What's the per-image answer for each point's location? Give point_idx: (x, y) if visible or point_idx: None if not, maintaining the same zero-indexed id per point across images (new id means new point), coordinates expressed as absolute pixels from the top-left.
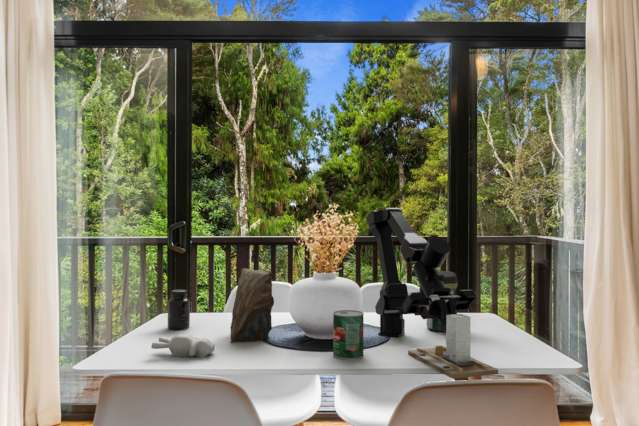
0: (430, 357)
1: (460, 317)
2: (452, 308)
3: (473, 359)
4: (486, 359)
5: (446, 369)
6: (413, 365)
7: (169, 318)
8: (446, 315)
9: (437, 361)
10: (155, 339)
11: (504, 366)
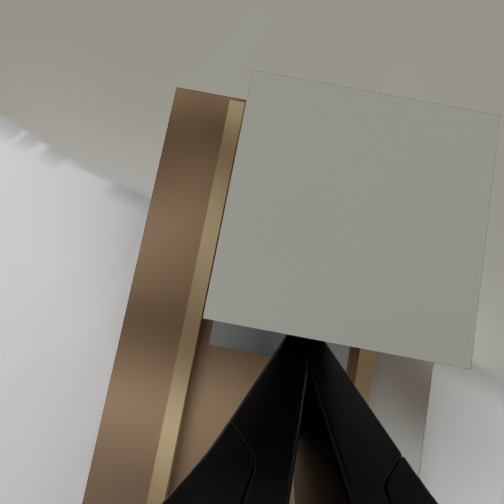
0: None
1: (417, 103)
2: (246, 501)
3: (144, 296)
4: (7, 328)
5: None
6: (494, 440)
7: None
8: (466, 364)
9: (386, 357)
10: None
11: (37, 177)
